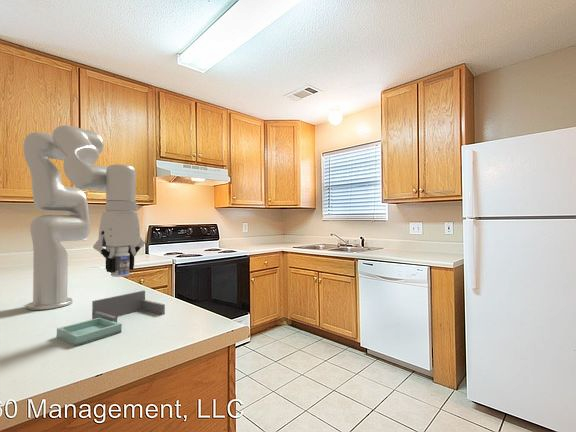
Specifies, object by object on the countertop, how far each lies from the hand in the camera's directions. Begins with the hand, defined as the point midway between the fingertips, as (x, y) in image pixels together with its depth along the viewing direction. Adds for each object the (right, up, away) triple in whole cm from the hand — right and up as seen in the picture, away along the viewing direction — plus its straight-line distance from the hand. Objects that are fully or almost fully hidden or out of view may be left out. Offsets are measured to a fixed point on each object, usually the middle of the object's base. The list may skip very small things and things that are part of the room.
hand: (120, 270), depth 88 cm
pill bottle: (0, -2, 0) cm, 2 cm away
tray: (-3, -15, -9) cm, 18 cm away
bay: (+1, -15, +4) cm, 16 cm away
